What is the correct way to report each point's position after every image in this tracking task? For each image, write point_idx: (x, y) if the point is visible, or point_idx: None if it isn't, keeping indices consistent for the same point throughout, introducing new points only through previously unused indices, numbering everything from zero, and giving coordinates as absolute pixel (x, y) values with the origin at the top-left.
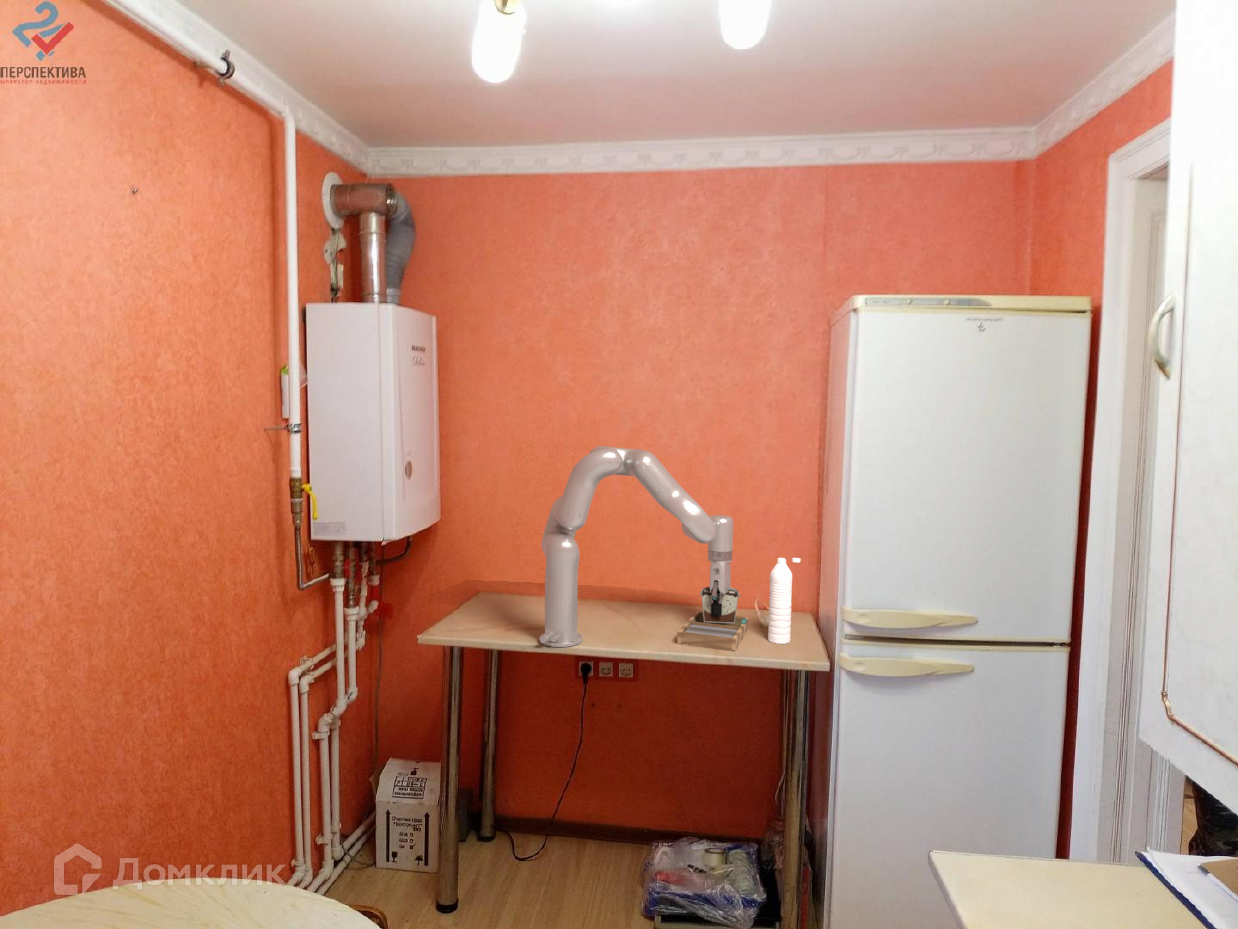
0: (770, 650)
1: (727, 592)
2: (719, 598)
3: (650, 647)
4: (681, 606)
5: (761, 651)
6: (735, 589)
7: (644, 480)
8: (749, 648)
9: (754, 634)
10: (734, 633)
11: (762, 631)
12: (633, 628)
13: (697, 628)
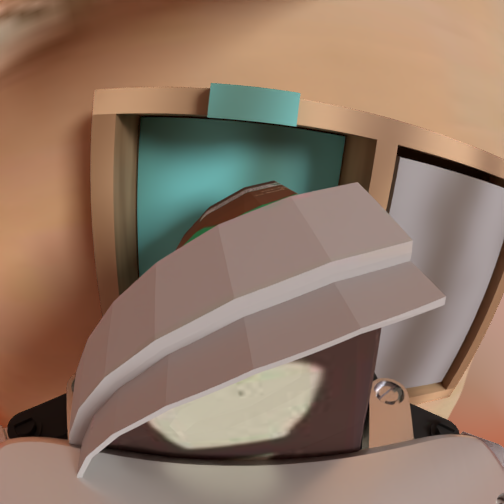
0: (461, 13)
1: (281, 454)
2: (406, 431)
3: (445, 406)
4: (2, 405)
5: (482, 53)
6: (163, 412)
7: None
8: (467, 97)
9: (236, 48)
10: (460, 175)
11: (158, 13)
12: None
13: (393, 362)
